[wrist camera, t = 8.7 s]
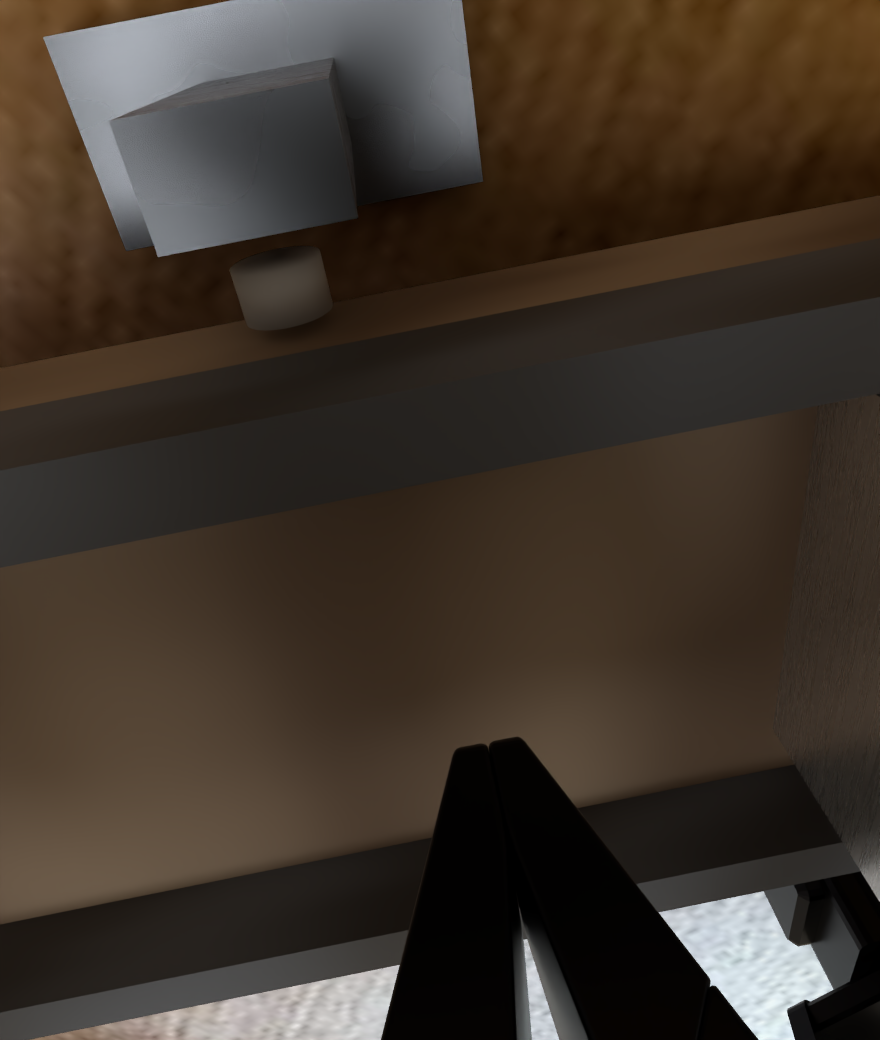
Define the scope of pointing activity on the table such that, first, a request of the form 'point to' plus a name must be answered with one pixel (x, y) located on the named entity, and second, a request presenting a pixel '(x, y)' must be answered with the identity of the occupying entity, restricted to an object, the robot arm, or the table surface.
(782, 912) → the robot arm
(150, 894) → the grey tray
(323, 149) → the stand
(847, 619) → the steel rider
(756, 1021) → the table surface
